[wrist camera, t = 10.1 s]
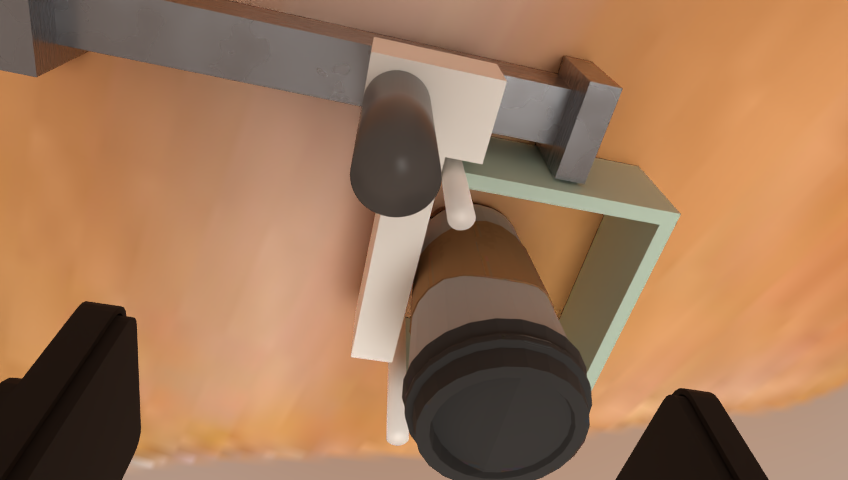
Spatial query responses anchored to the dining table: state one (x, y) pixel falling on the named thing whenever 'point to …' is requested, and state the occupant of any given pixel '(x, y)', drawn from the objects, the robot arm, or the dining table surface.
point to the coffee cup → (489, 359)
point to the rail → (298, 62)
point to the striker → (411, 167)
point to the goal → (605, 262)
